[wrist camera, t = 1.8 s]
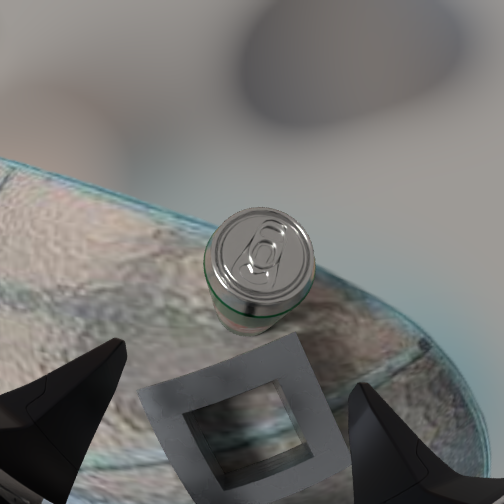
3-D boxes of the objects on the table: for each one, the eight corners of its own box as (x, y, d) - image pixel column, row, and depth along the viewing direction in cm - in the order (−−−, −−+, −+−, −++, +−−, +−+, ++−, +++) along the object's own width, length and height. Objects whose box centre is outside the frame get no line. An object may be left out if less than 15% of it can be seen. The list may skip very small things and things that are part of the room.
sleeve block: (337, 451, 18) (354, 463, 14) (210, 500, 15) (207, 520, 12) (285, 335, 21) (295, 331, 18) (150, 386, 19) (136, 390, 16)
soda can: (205, 321, 21) (179, 281, 10) (230, 268, 23) (232, 183, 12) (263, 346, 21) (299, 334, 10) (285, 291, 23) (336, 226, 12)
